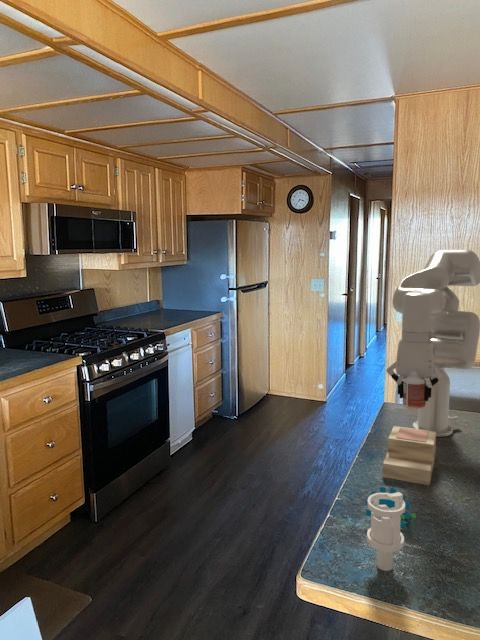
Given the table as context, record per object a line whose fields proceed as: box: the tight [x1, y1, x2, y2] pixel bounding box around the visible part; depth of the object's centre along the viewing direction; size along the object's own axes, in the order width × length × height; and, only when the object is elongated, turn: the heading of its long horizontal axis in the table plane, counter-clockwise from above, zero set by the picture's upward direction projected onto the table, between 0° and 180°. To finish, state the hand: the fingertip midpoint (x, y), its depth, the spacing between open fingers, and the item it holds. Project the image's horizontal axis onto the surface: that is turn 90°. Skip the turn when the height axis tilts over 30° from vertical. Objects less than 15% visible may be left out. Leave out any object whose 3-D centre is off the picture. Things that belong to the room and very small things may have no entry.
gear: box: [365, 486, 417, 530], centre depth 112 cm, size 11×6×10 cm
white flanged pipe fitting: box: [366, 491, 406, 572], centre depth 97 cm, size 7×7×15 cm
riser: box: [382, 425, 437, 486], centre depth 138 cm, size 18×12×8 cm, turn 154°
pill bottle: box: [402, 371, 426, 411], centre depth 139 cm, size 6×6×11 cm
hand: (414, 397), depth 139 cm, fingers closed on pill bottle, 6 cm apart
